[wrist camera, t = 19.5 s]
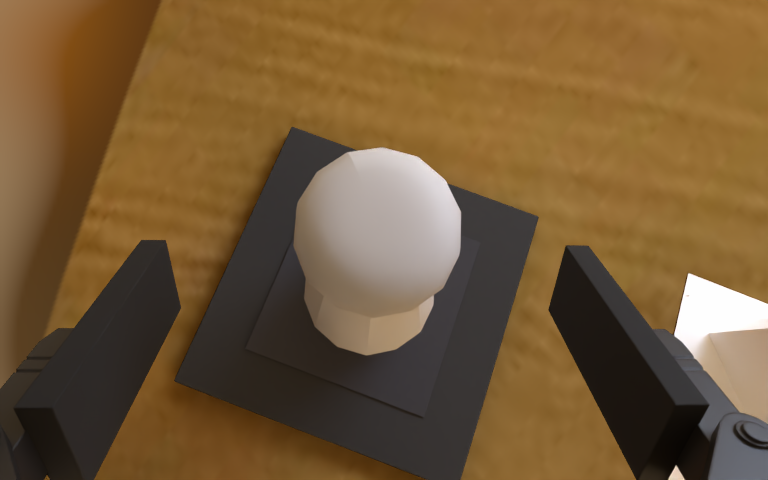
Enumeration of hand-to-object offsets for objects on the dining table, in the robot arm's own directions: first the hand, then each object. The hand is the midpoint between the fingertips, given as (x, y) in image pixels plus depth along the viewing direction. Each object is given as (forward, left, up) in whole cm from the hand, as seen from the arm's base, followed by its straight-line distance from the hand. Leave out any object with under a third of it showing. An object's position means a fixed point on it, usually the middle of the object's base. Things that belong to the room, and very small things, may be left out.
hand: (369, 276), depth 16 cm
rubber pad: (0, 0, -9) cm, 9 cm away
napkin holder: (+20, +7, -9) cm, 23 cm away
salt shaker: (0, 0, -8) cm, 8 cm away
